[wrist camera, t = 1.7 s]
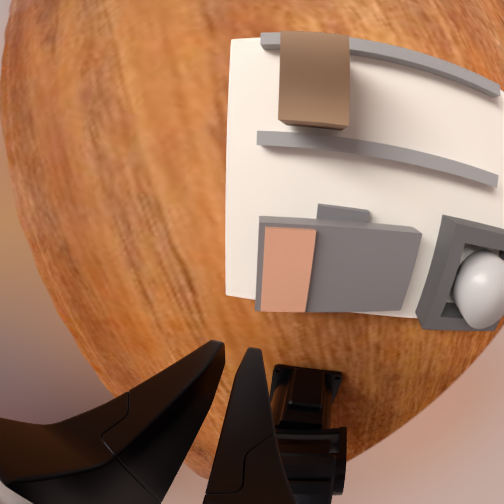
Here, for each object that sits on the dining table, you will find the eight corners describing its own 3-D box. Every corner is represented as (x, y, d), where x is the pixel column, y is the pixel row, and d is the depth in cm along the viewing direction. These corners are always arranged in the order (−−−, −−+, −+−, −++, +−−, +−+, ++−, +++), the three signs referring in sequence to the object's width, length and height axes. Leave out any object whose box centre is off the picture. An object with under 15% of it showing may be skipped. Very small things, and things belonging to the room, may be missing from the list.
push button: (487, 311, 13) (499, 328, 11) (442, 308, 14) (453, 328, 12) (508, 253, 11) (525, 267, 10) (463, 245, 12) (479, 259, 10)
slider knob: (341, 130, 13) (348, 125, 10) (286, 125, 14) (277, 119, 11) (343, 58, 11) (348, 35, 8) (289, 54, 12) (280, 30, 9)
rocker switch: (393, 300, 16) (402, 312, 14) (255, 299, 16) (254, 313, 14) (412, 226, 14) (424, 235, 12) (259, 215, 14) (259, 224, 13)
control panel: (481, 305, 17) (503, 336, 13) (235, 278, 21) (216, 310, 17) (518, 111, 10) (551, 110, 6) (242, 51, 15) (220, 28, 11)
